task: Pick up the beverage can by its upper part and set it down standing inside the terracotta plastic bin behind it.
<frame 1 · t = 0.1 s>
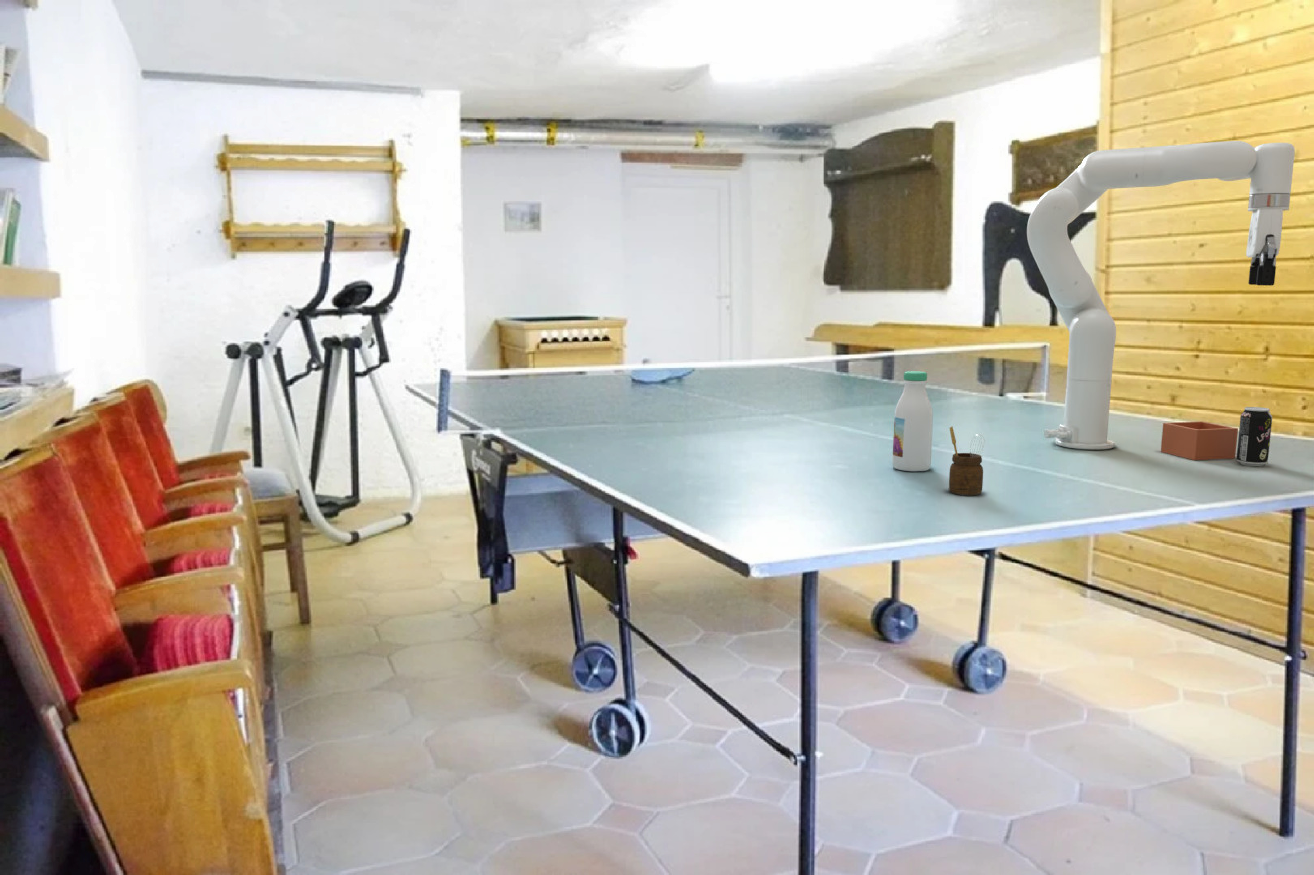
hand: (1260, 285, 218), 37 cm above the table, tool pointing down, fingers open, 9 cm apart
beverage can: (1251, 465, 213), on the table
milk bottle: (911, 469, 209), on the table
bin: (1197, 454, 224), on the table
utensil holder: (964, 493, 187), on the table
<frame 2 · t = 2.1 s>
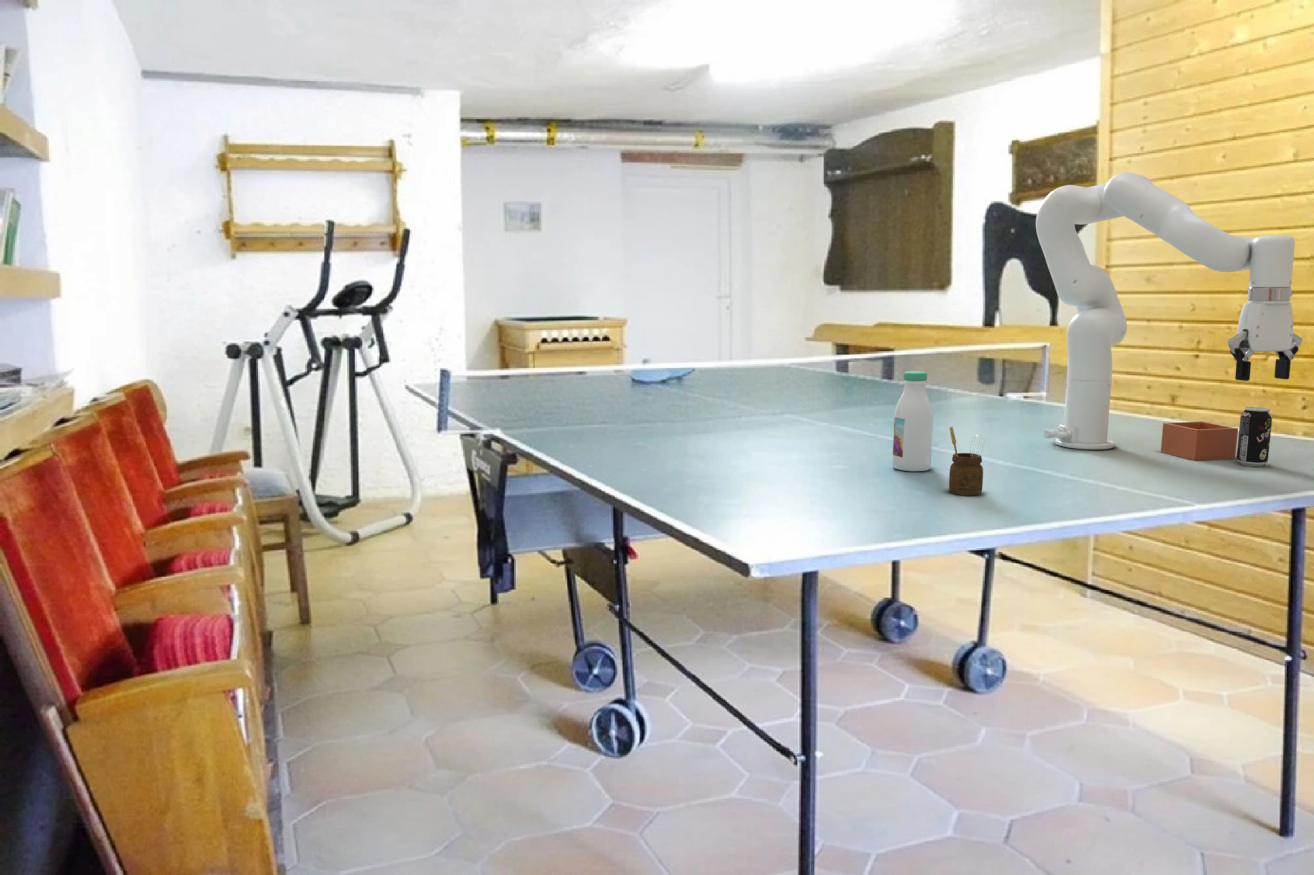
hand: (1262, 379, 210), 18 cm above the table, tool pointing down, fingers open, 9 cm apart
nothing on the table moved.
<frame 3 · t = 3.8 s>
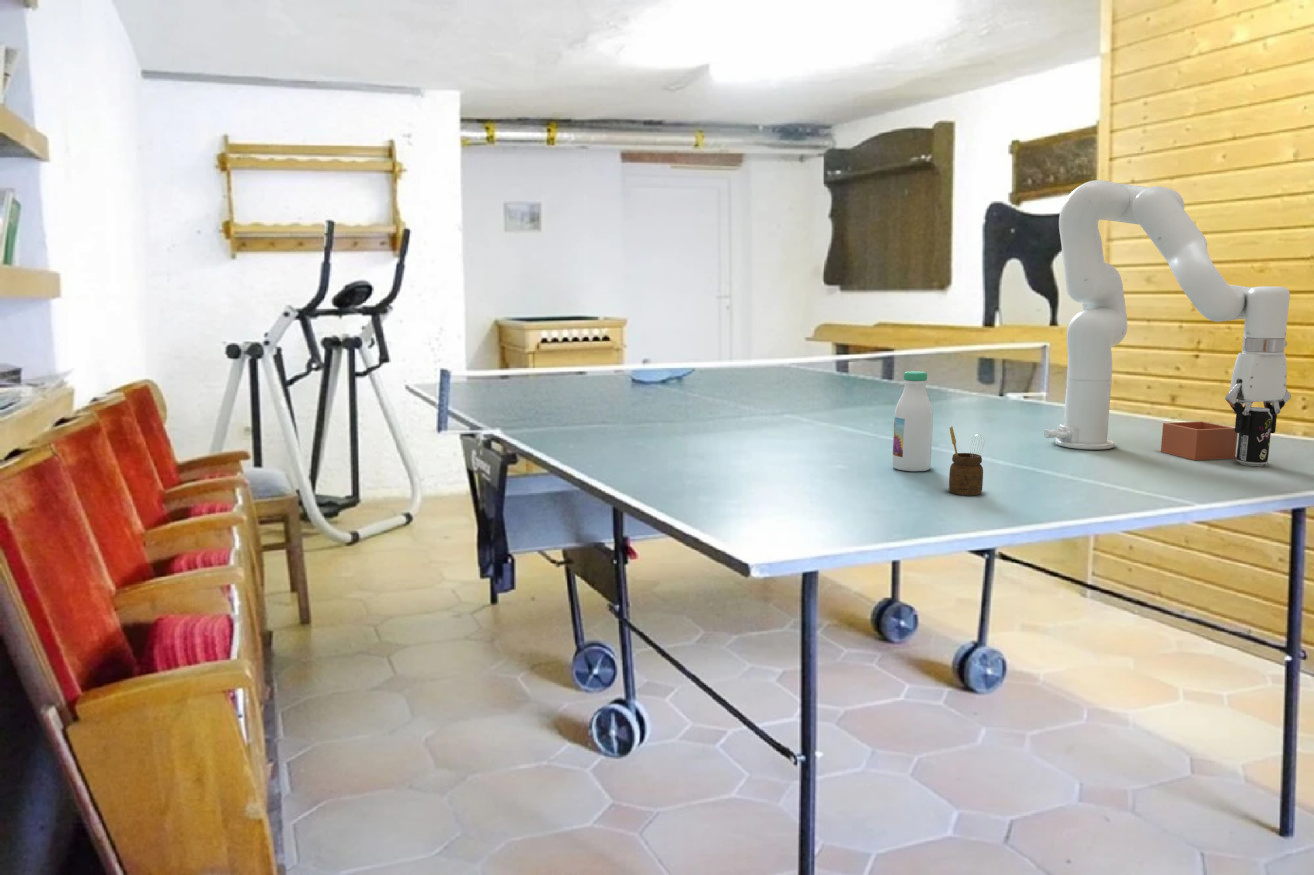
hand: (1254, 432, 212), 7 cm above the table, tool pointing down, fingers closed on beverage can, 5 cm apart
beverage can: (1251, 465, 213), on the table, touching gripper
everything else where it was.
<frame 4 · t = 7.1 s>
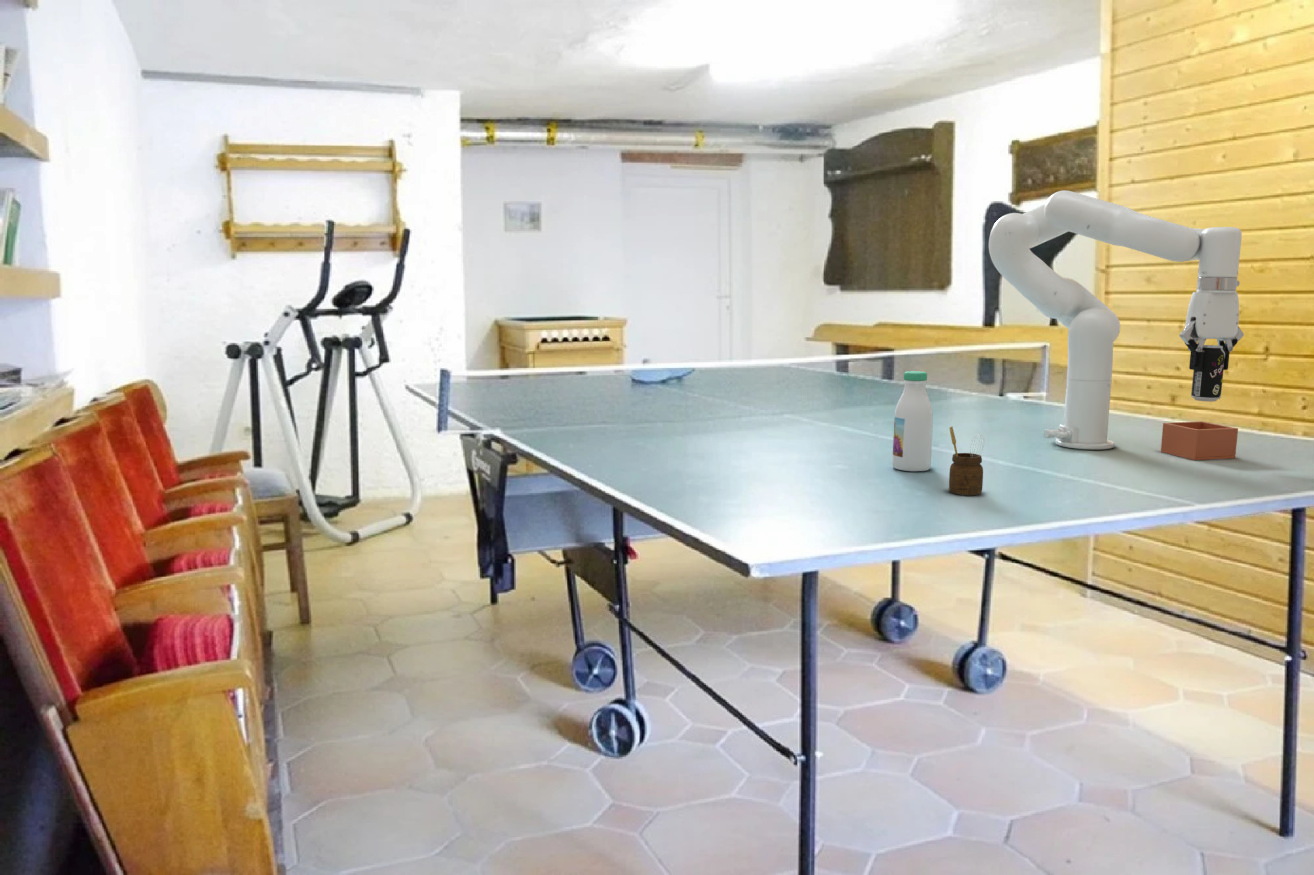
hand: (1208, 368, 220), 19 cm above the table, tool pointing down, fingers closed on beverage can, 5 cm apart
beverage can: (1205, 401, 222), point 12 cm above the table, touching gripper
everything else where it was.
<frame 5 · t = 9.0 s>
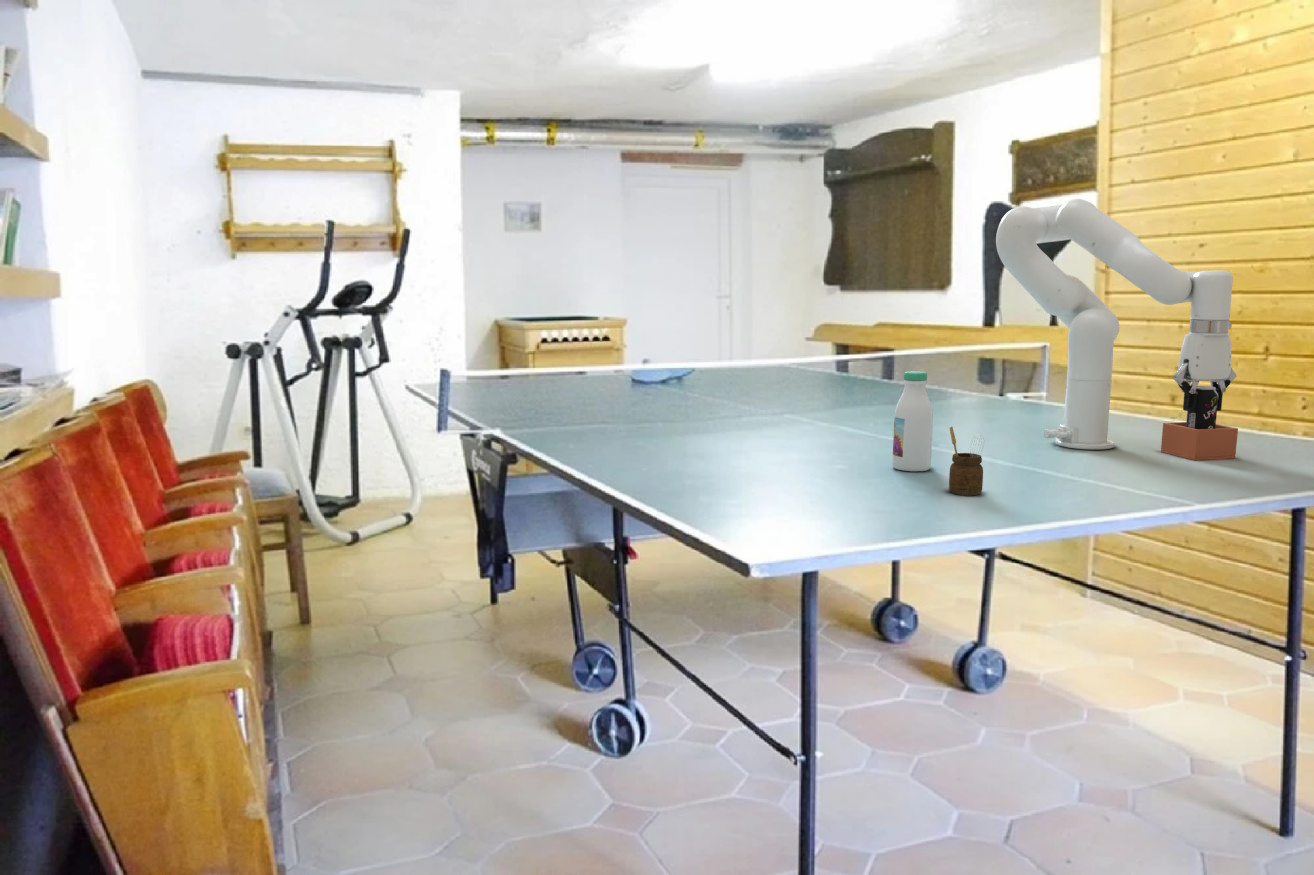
hand: (1202, 409, 223), 10 cm above the table, tool pointing down, fingers closed on beverage can, 5 cm apart
beverage can: (1199, 441, 224), point 3 cm above the table, touching gripper
everything else where it was.
when the fingers open (8 cm above the table, at t = 10.2 s): beverage can stays where it is, resting on bin.
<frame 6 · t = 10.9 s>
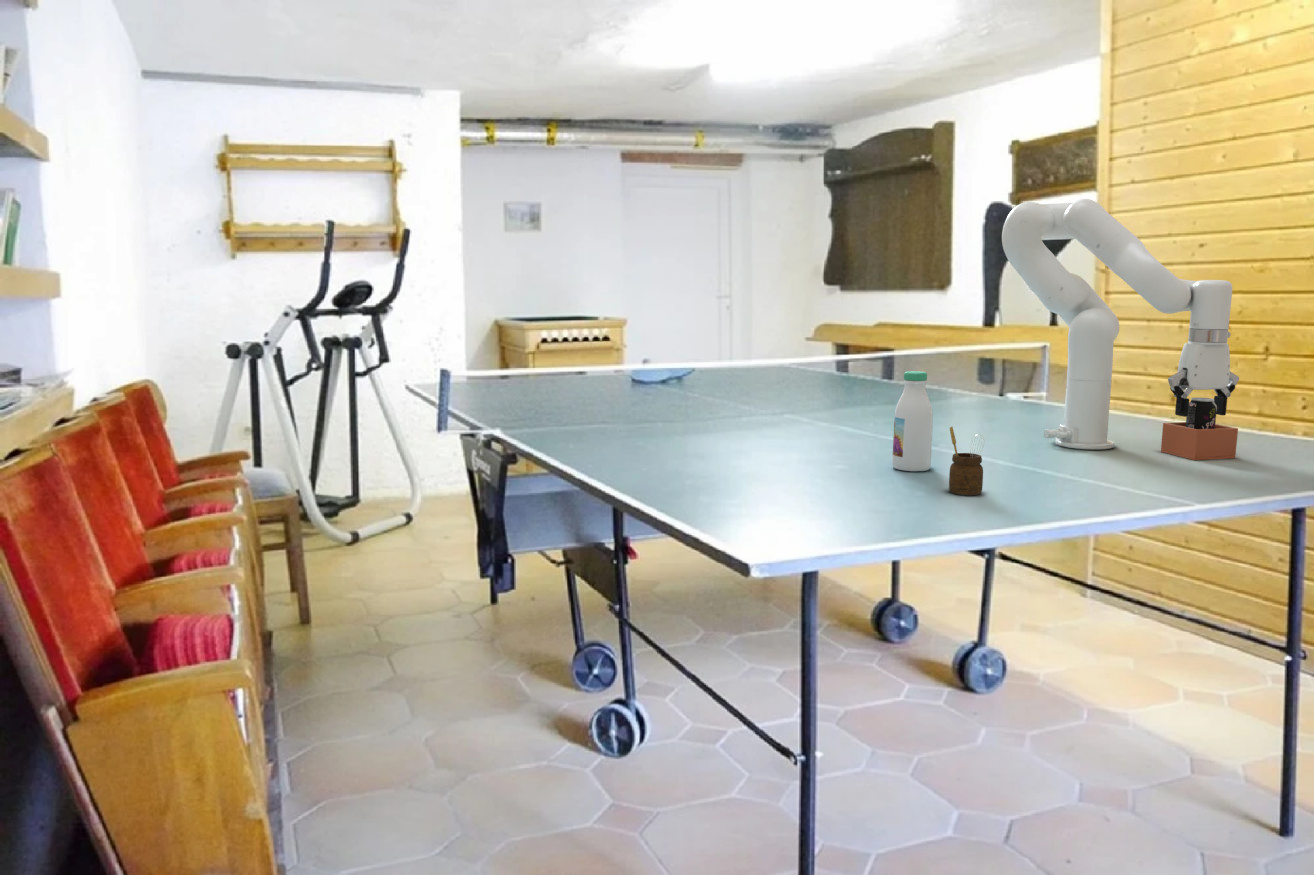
hand: (1200, 415, 223), 9 cm above the table, tool pointing down, fingers open, 9 cm apart
beverage can: (1197, 453, 224), resting on bin
everything else where it was.
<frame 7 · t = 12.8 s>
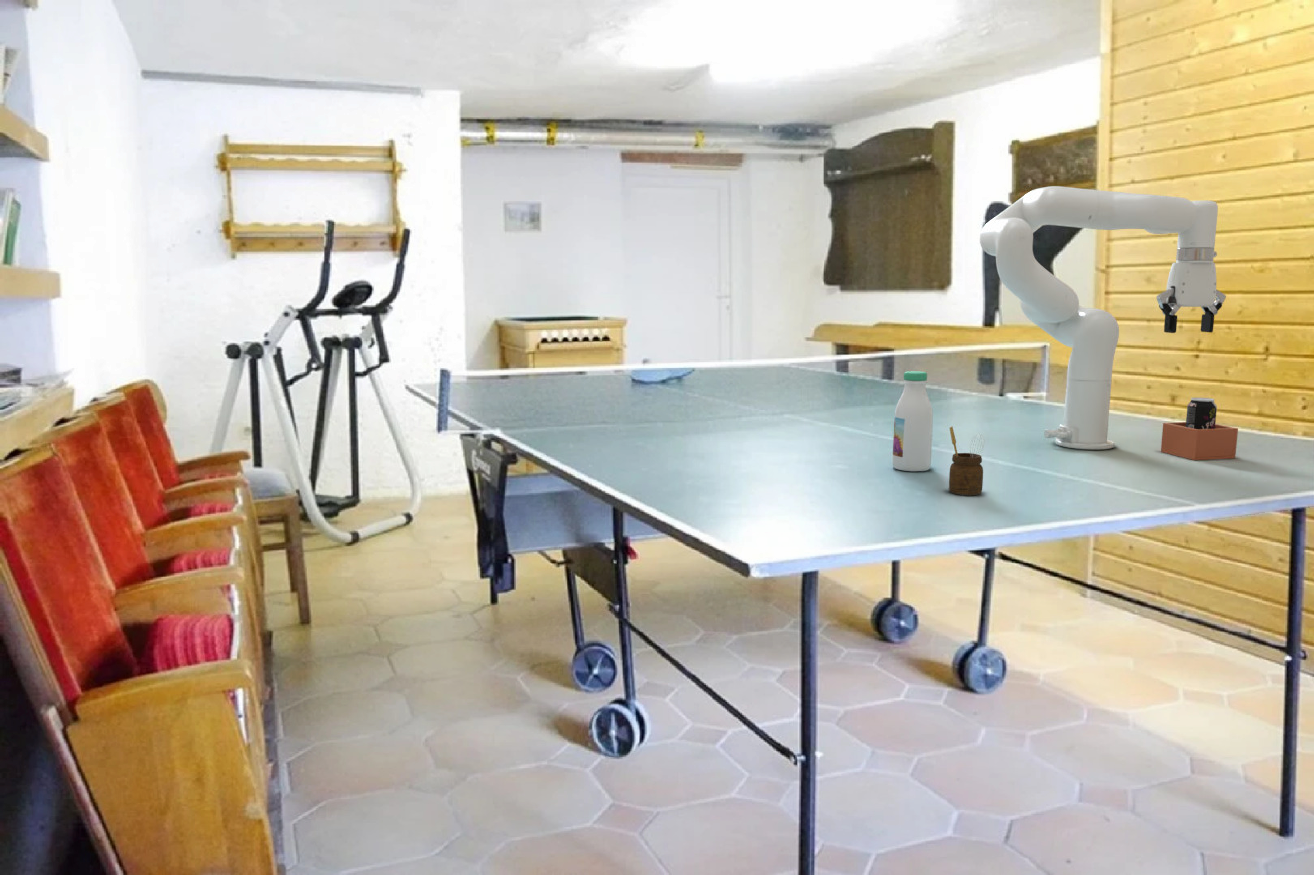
hand: (1188, 332, 232), 26 cm above the table, tool pointing down, fingers open, 9 cm apart
nothing on the table moved.
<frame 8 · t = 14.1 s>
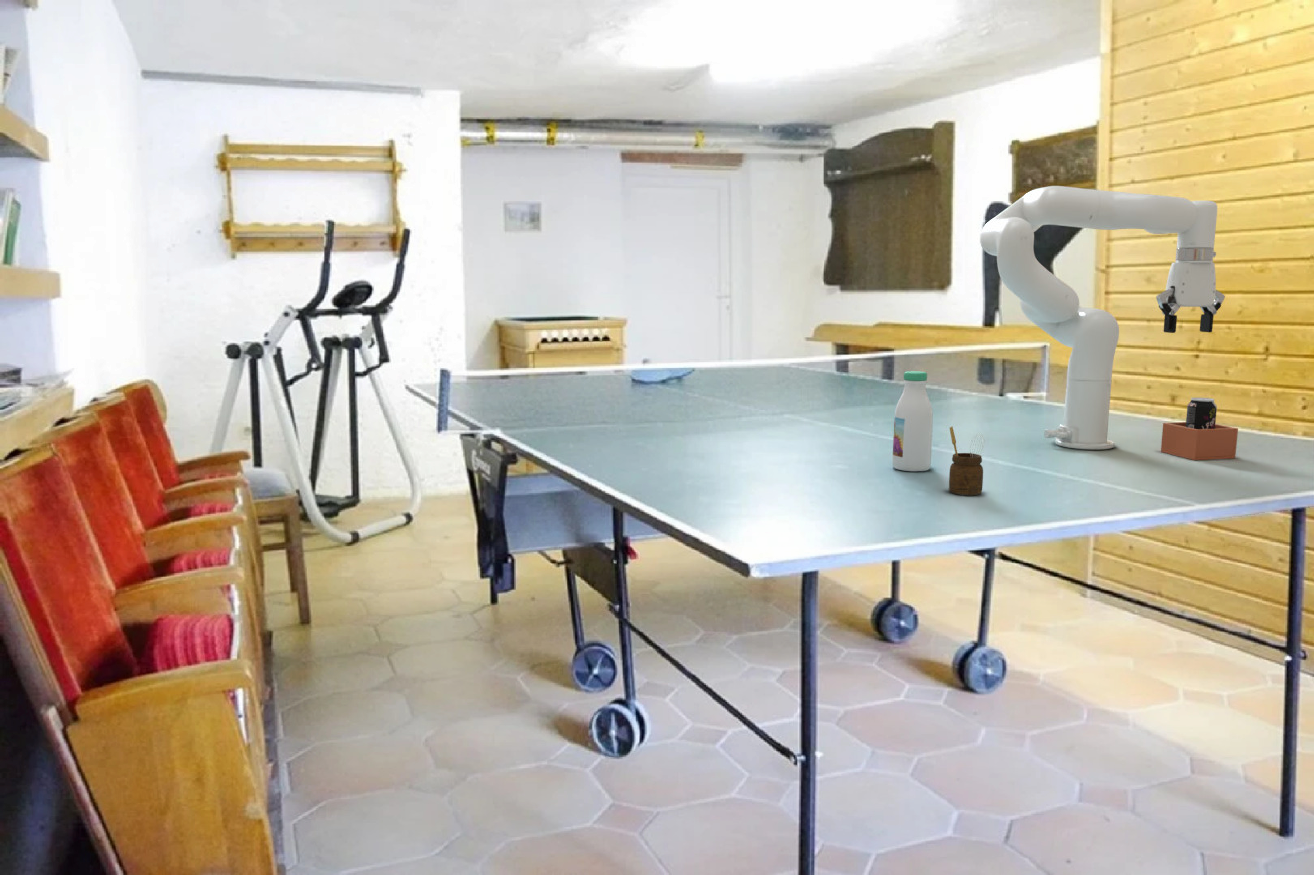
hand: (1187, 332, 233), 26 cm above the table, tool pointing down, fingers open, 9 cm apart
nothing on the table moved.
at the end: beverage can inside the target area in the bin (0.0 cm from its centre), point 0.4 cm above the bin's base; beverage can tilted 0°; the gripper is holding nothing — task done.
